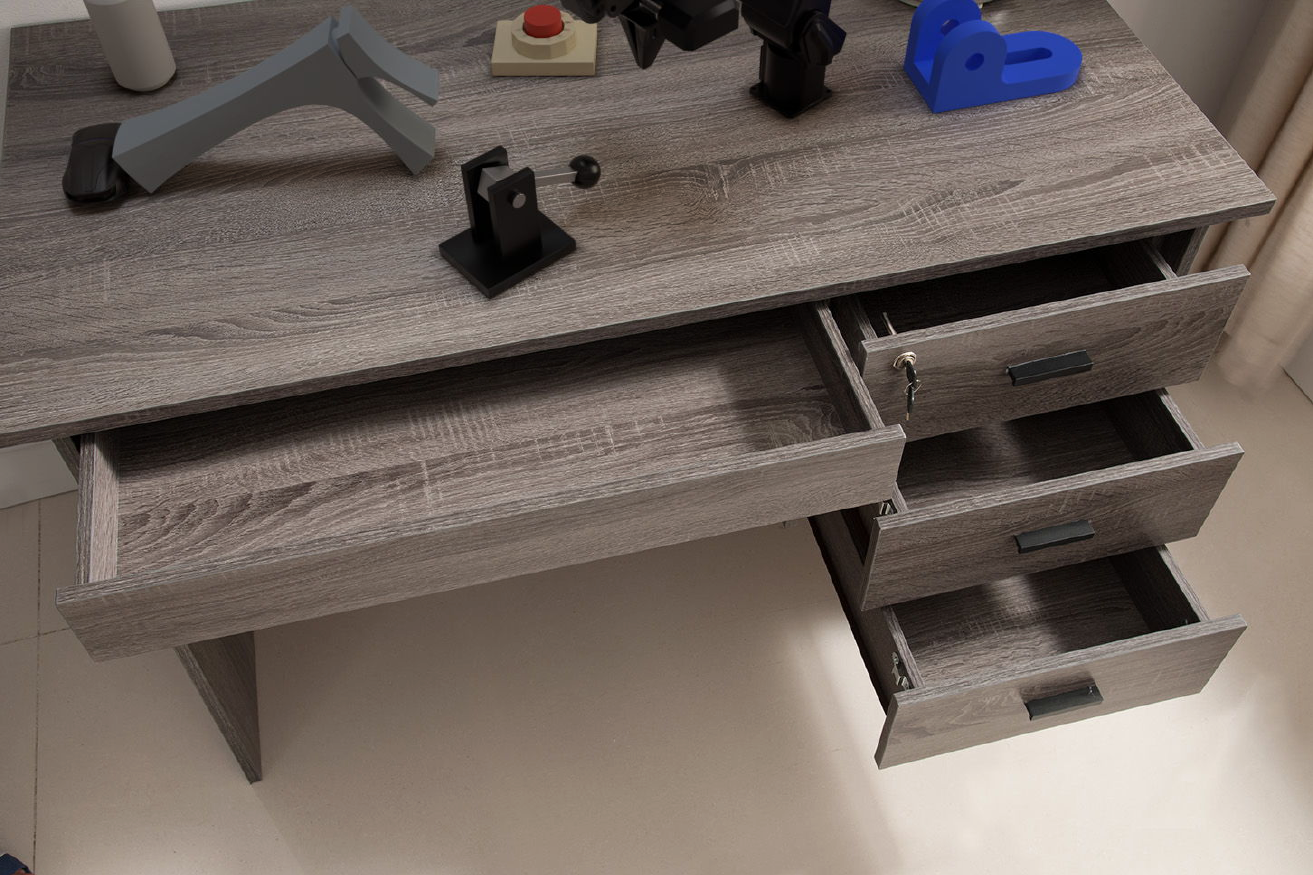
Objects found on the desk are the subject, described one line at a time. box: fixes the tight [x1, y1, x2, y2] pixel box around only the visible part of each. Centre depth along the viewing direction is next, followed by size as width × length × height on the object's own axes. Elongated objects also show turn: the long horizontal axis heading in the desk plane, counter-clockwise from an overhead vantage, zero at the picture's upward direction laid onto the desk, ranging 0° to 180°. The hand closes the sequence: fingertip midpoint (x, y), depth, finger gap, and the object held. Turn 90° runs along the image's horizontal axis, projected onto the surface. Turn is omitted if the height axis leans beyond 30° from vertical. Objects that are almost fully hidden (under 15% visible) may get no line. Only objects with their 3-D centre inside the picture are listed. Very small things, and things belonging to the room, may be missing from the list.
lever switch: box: [438, 144, 577, 300], centre depth 111 cm, size 10×8×10 cm
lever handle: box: [478, 154, 602, 202], centre depth 112 cm, size 13×3×3 cm, turn 131°
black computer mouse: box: [61, 122, 130, 206], centre depth 121 cm, size 6×12×4 cm, turn 9°
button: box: [523, 4, 562, 38], centre depth 132 cm, size 4×4×2 cm
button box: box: [490, 9, 598, 77], centre depth 134 cm, size 11×8×4 cm
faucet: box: [112, 3, 441, 194], centre depth 120 cm, size 6×17×30 cm
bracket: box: [902, 0, 1083, 114], centre depth 128 cm, size 18×8×9 cm, turn 105°
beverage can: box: [82, 0, 177, 92], centre depth 128 cm, size 6×6×12 cm
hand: (644, 66), depth 112 cm, fingers closed
